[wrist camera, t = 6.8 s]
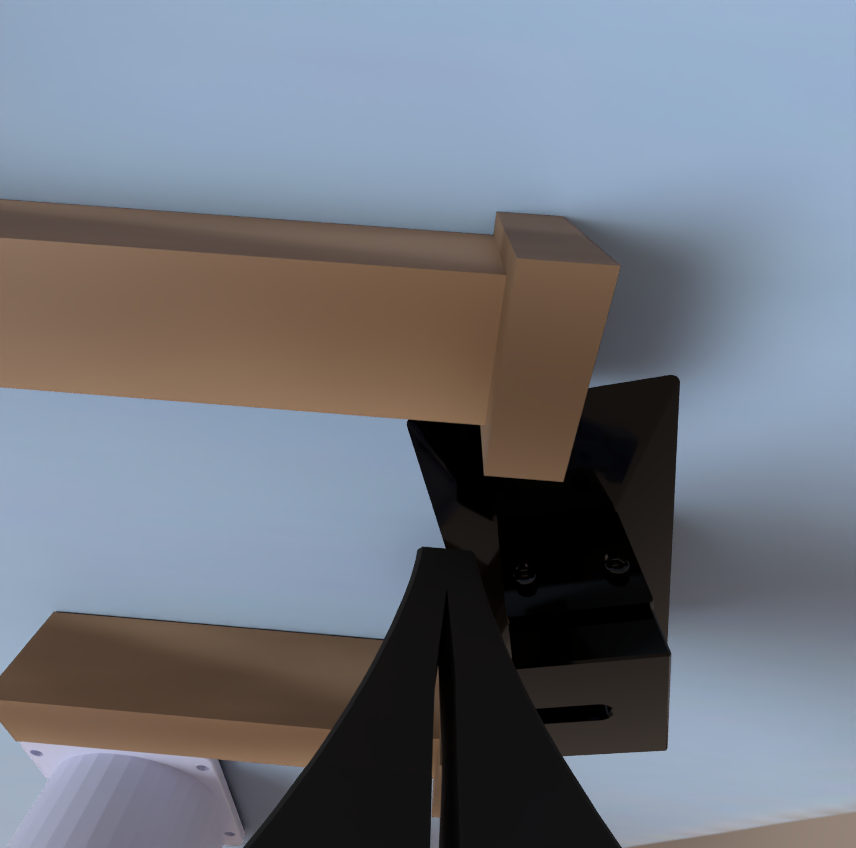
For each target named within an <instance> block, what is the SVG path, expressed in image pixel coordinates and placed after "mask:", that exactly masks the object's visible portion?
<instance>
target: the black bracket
mask: <svg viewBox="0 0 856 848" xmlns="http://www.w3.org/2000/svg"><path fill="white" fill-rule="evenodd" d="M679 390H680V381H679V378H678V377H676V376H674V375H667V376H661V377H655V378H648V379H642V380H636V381H630V382H624V383H618V384H611V385H605V386H599V387H593V388H588V391H587V395H586V398H585V402H584V406H583V410H582V413H581V417H580V421H579V425H578V428H577V432H576V436H575V440H574V443H573V447H572V451H571V455H570V458H569V462H568V466H567V470H566V473H565V477H564V481H563V482H558V481H545V480H533V479H520V478H508V477H495V476H484V468H483V454H482V441H481V427H480V425H474V424H461V423H448V422H436V421H423V420H410V419H409V420H408V421H407V427H408V431H409V434H410V437H411V440H412V443H413V446H414V449H415V453H416V456H417V459H418V462H419V465H420V468H421V472H422V475H423V478H424V481H425V484H426V487H427V490H428V494H429V497H430V500H431V503H432V506H433V509H434V512H435V516H436V519H437V522H438V525H439V528H440V531H441V534H442V538H443V541H444V544H445V547H446V549H457V550H469V551H473V552H474V553H475V554H476V558H477V563H478V568H479V572H480V576H481V579H482V583H483V586H484V589H485V592H486V595H487V598H488V601H489V604H490V607H491V610H492V613H493V615H494V618H495V620H496V623H497V625H498V628H499V630H500V633H501V635H502V638H503V640H504V643H505V645H506V648H507V650H508V652H509V654H510V657H511V659H512V661H513V663H514V665H515V668H516V670H517V672H518V674H519V676H520V678H521V681H522V683H523V685H524V687H525V689H526V691H527V693H528V695H529V697H530V699H531V701H532V703H533V704H534V706H535V708H536V710H537V712H538V714H539V716H540V718H541V719H542V721H543V723H544V725H545V727H546V729H547V730H548V732H549V734H550V736H551V737H552V739H553V741H554V743H555V744H556V746H557V748H558V750H559V751H560V753H561V755H562V756H575V755H593V754H611V753H629V752H648V751H666V750H667V745H668V722H669V698H670V674H671V652H670V649H669V647H668V644H667V637H668V617H669V596H670V575H671V555H672V534H673V514H674V493H675V472H676V452H677V431H678V410H679Z"/></svg>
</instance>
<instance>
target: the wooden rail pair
mask: <svg viewBox="0 0 856 848" xmlns="http://www.w3.org/2000/svg"><path fill="white" fill-rule="evenodd" d="M620 267H621V266H620V265H619V264H618V263H617V262H616V261H614V260H613V259H612V258H611V257H610V256H609V255H607V254H606V253H605V252H604V251H603V250H602V249H601V248H599V247H598V246H597V245H596V244H595V243H594V242H592V241H591V240H590V239H589V238H588V237H587V236H585V235H584V234H583V233H582V232H581V231H580V230H578V229H577V228H576V227H575V226H574V225H573V224H571V223H570V222H569V221H568V220H567V219H566V218H564V217H563V216H549V215H535V214H521V213H508V212H496V220H495V228H494V235H485V234H471V233H457V232H443V231H430V230H416V229H402V228H388V227H375V226H361V225H347V224H333V223H320V222H306V221H292V220H278V219H265V218H251V217H237V216H223V215H210V214H196V213H182V212H168V211H155V210H141V209H127V208H113V207H100V206H86V205H72V204H58V203H45V202H31V201H17V200H3V199H0V387H4V388H17V389H30V390H42V391H55V392H68V393H80V394H93V395H106V396H118V397H131V398H144V399H156V400H169V401H182V402H195V403H207V404H220V405H233V406H245V407H258V408H271V409H283V410H296V411H309V412H321V413H334V414H347V415H359V416H372V417H385V418H398V419H410V420H423V421H436V422H448V423H461V424H474V425H480V427H481V441H482V454H483V468H484V476H495V477H508V478H520V479H533V480H545V481H558V482H563V481H564V477H565V473H566V470H567V466H568V462H569V458H570V455H571V451H572V447H573V443H574V440H575V436H576V432H577V428H578V425H579V421H580V417H581V413H582V410H583V406H584V402H585V398H586V395H587V391H588V387H589V383H590V380H591V376H592V372H593V368H594V365H595V361H596V357H597V353H598V350H599V346H600V342H601V338H602V335H603V331H604V327H605V324H606V320H607V316H608V312H609V309H610V305H611V301H612V297H613V294H614V290H615V286H616V282H617V279H618V275H619V271H620ZM382 642H383V640H374V639H363V638H351V637H339V636H328V635H316V634H305V633H293V632H281V631H270V630H258V629H246V628H235V627H223V626H211V625H200V624H188V623H176V622H165V621H153V620H142V619H130V618H118V617H107V616H95V615H83V614H72V613H60V612H53V613H52V615H51V616H50V617H49V618H48V619H47V621H46V622H45V623H44V624H43V625H42V627H41V628H40V629H39V630H38V631H37V632H36V634H35V635H34V636H33V637H32V638H31V640H30V641H29V642H28V643H27V644H26V646H25V647H24V648H23V649H22V650H21V652H20V653H19V654H18V655H17V656H16V658H15V659H14V660H13V661H12V662H11V664H10V665H9V666H8V667H7V668H6V670H5V671H4V672H3V673H2V674H1V676H0V722H1V723H2V725H3V726H4V727H5V728H6V730H7V731H8V732H9V733H10V735H11V736H12V737H13V738H14V740H15V741H21V742H32V743H43V744H54V745H65V746H76V747H87V748H98V749H109V750H120V751H131V752H143V753H154V754H165V755H176V756H187V757H198V758H209V759H220V760H231V761H242V762H253V763H264V764H276V765H287V766H298V767H306V766H307V764H308V763H309V762H310V760H311V759H312V757H313V756H314V755H315V753H316V752H317V750H318V749H319V747H320V746H321V744H322V743H323V742H324V740H325V739H326V737H327V736H328V734H329V733H330V731H331V729H332V728H333V726H334V725H335V723H336V722H337V720H338V719H339V717H340V716H341V714H342V713H343V711H344V710H345V708H346V706H347V705H348V703H349V701H350V700H351V698H352V696H353V695H354V693H355V691H356V690H357V688H358V686H359V685H360V683H361V681H362V680H363V678H364V676H365V674H366V673H367V671H368V669H369V667H370V665H371V664H372V662H373V660H374V658H375V656H376V654H377V652H378V650H379V648H380V646H381V644H382ZM432 779H433V799H432V817H440V809H441V781H442V752H441V727H440V702H439V677H438V669H437V677H436V684H435V695H434V725H433V757H432Z"/></svg>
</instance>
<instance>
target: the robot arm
mask: <svg viewBox="0 0 856 848" xmlns="http://www.w3.org/2000/svg"><path fill="white" fill-rule="evenodd" d="M437 669H438V677H439V702H440V727H441V752H442V781H441V809H440V835H439V848H622V847H621V846H620V845H619V843H618V842H617V840H616V839H615V837H614V836H613V834H612V833H611V831H610V830H609V828H608V827H607V825H606V824H605V823H604V821H603V820H602V818H601V817H600V815H599V814H598V812H597V811H596V809H595V807H594V806H593V804H592V803H591V801H590V799H589V798H588V796H587V795H586V793H585V792H584V790H583V788H582V787H581V785H580V784H579V782H578V780H577V779H576V777H575V776H574V774H573V773H572V771H571V769H570V768H569V766H568V765H567V763H566V761H565V760H564V758H563V756H562V755H561V753H560V751H559V750H558V748H557V746H556V744H555V743H554V741H553V739H552V737H551V736H550V734H549V732H548V730H547V729H546V727H545V725H544V723H543V721H542V719H541V718H540V716H539V714H538V712H537V710H536V708H535V706H534V704H533V703H532V701H531V699H530V697H529V695H528V693H527V691H526V689H525V687H524V685H523V683H522V681H521V678H520V676H519V674H518V672H517V670H516V668H515V665H514V663H513V661H512V659H511V657H510V654H509V652H508V650H507V648H506V645H505V643H504V640H503V638H502V635H501V633H500V630H499V628H498V625H497V623H496V620H495V618H494V615H493V613H492V610H491V607H490V604H489V601H488V598H487V595H486V592H485V589H484V586H483V583H482V579H481V576H480V572H479V568H478V563H477V558H476V554H475V553H474V552H473V551H469V550H457V549H444V548H432V547H421V548H420V549H418V550H417V556H416V561H415V564H414V568H413V571H412V575H411V578H410V581H409V583H408V586H407V589H406V591H405V594H404V597H403V599H402V601H401V604H400V606H399V608H398V610H397V613H396V615H395V617H394V620H393V622H392V624H391V626H390V628H389V631H388V633H387V635H386V636H385V638H384V640H383V642H382V644H381V646H380V648H379V650H378V652H377V654H376V656H375V658H374V660H373V662H372V664H371V665H370V667H369V669H368V671H367V673H366V674H365V676H364V678H363V680H362V681H361V683H360V685H359V686H358V688H357V690H356V691H355V693H354V695H353V696H352V698H351V700H350V701H349V703H348V705H347V706H346V708H345V710H344V711H343V713H342V714H341V716H340V717H339V719H338V720H337V722H336V723H335V725H334V726H333V728H332V729H331V731H330V733H329V734H328V736H327V737H326V739H325V740H324V742H323V743H322V744H321V746H320V747H319V749H318V750H317V752H316V753H315V755H314V756H313V757H312V759H311V760H310V762H309V763H308V764H307V766H306V767H305V768H304V770H303V771H302V773H301V774H300V775H299V777H298V778H297V779H296V781H295V782H294V783H293V785H292V786H291V787H290V789H289V790H288V791H287V793H286V794H285V796H284V797H283V798H282V800H281V801H280V802H279V804H278V805H277V806H276V808H275V809H274V810H273V811H272V813H271V814H270V815H269V817H268V818H267V819H266V820H265V822H264V823H263V824H262V825H261V827H260V828H259V829H258V830H257V831H256V833H255V834H254V835H253V836H252V838H251V839H250V840H249V841H248V842H247V844H246V845H245V846H244V847H243V848H430V830H431V792H432V757H433V725H434V695H435V684H436V677H437ZM20 744H21V747H22V748H23V749H24V750H25V752H26V753H27V754H28V755H29V757H30V758H31V759H32V760H33V761H34V763H35V764H36V765H37V766H38V768H39V769H40V770H41V771H42V773H43V774H44V775H45V776H46V778H47V779H48V781H47V782H46V784H45V786H44V787H43V789H42V790H41V792H40V794H39V795H38V797H37V798H36V800H35V802H34V803H33V805H32V806H31V808H30V810H29V811H28V813H27V814H26V816H25V817H24V819H23V821H22V822H21V824H20V825H19V827H18V829H17V830H16V832H15V833H14V835H13V837H12V838H11V840H10V841H9V843H8V845H7V846H6V848H222V846H223V844H225V845H241V844H242V843H243V842H244V838H245V832H244V829H243V826H242V823H241V821H240V818H239V815H238V812H237V810H236V807H235V804H234V802H233V799H232V796H231V793H230V791H229V788H228V785H227V782H226V780H225V777H224V774H223V772H222V769H221V766H220V763H219V761H218V759H209V758H198V757H187V756H176V755H165V754H154V753H143V752H131V751H120V750H109V749H98V748H87V747H76V746H65V745H54V744H43V743H32V742H20Z"/></svg>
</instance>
